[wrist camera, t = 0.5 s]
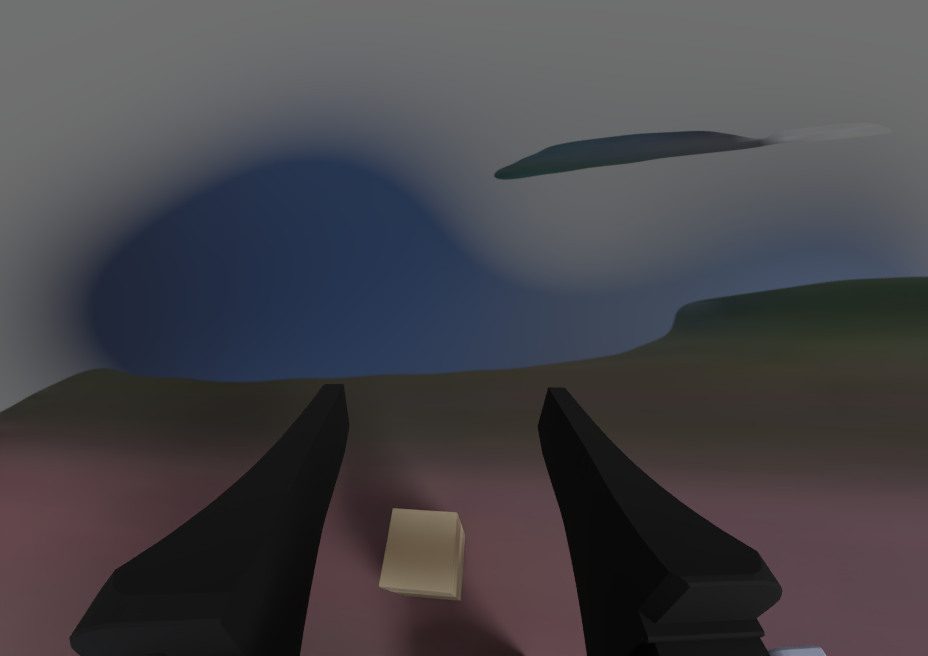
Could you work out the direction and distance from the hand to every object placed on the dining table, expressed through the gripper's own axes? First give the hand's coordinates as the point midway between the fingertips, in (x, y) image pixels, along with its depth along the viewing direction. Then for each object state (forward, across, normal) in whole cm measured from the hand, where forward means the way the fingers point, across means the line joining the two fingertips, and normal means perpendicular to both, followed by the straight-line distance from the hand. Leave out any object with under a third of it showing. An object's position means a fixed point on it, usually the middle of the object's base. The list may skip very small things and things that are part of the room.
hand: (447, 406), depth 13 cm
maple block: (+3, 0, +20) cm, 20 cm away
